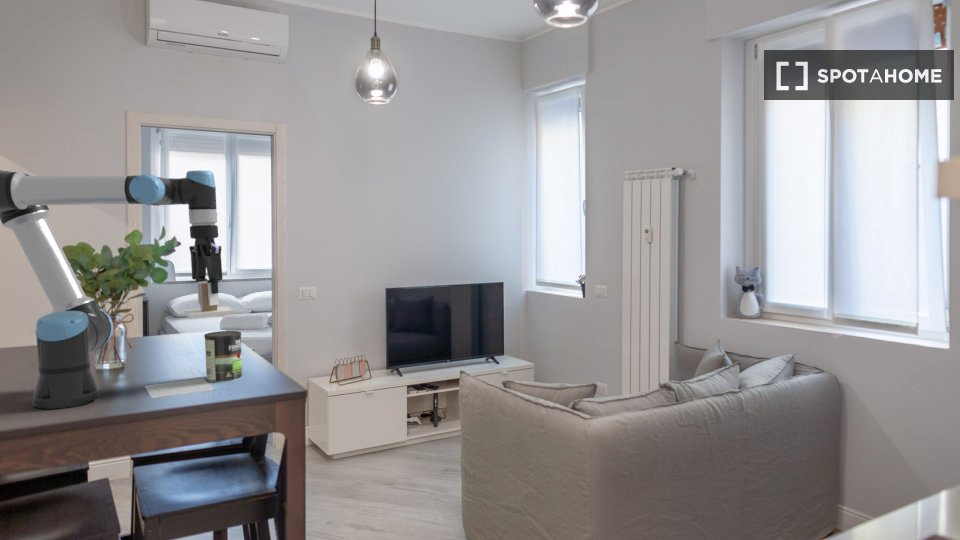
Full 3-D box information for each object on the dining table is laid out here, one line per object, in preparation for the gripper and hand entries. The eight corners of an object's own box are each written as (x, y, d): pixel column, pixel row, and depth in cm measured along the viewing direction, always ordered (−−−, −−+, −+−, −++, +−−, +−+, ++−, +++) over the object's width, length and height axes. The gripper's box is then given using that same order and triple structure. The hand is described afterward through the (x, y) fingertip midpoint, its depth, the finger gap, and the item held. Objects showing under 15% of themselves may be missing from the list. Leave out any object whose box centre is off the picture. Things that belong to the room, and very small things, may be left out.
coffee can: (249, 376, 203) (247, 330, 202) (230, 384, 193) (228, 336, 192) (219, 375, 205) (217, 330, 204) (198, 383, 195) (196, 335, 194)
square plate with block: (190, 318, 186) (188, 286, 185) (184, 314, 196) (182, 283, 195) (234, 314, 192) (233, 282, 191) (226, 310, 202) (224, 280, 201)
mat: (151, 400, 177) (151, 398, 177) (144, 388, 190) (144, 385, 190) (215, 391, 185) (214, 389, 185) (203, 380, 199) (203, 378, 199)
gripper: (232, 223, 189) (237, 304, 191) (199, 224, 200) (204, 301, 202) (208, 224, 183) (213, 307, 185) (175, 225, 195) (180, 304, 196)
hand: (208, 304), depth 194 cm, fingers closed on square plate with block, 5 cm apart
